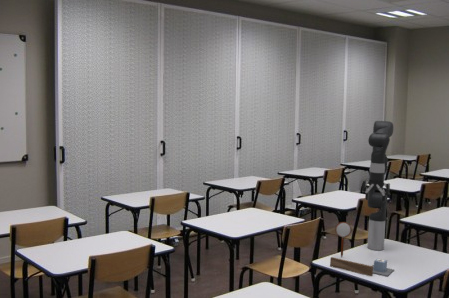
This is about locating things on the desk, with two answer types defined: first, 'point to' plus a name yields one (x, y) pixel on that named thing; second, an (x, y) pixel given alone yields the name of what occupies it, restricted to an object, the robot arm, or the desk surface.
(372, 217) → the robot arm
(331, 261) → the bar
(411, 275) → the desk surface
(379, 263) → the letter cube
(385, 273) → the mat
